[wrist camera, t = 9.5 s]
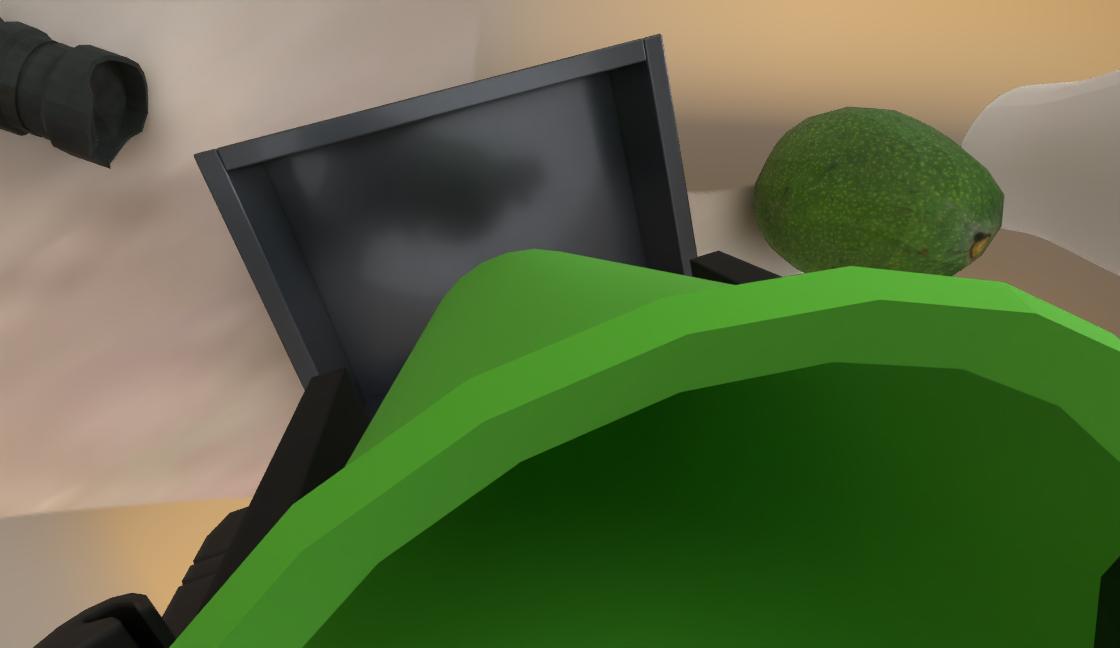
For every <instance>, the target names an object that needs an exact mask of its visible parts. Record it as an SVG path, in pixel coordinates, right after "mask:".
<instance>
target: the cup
mask: <svg viewBox="0 0 1120 648" xmlns="http://www.w3.org/2000/svg"><path fill="white" fill-rule="evenodd" d="M1119 556H1120V339H1119V338H1118V337H1117V336H1116V335H1114V334H1113V333H1111V332H1109V331H1107V330H1105V329H1103V328H1101V327H1098V326H1096V325H1094V324H1092V323H1090V322H1088V321H1086V320H1083V319H1081V318H1079V317H1077V316H1075V315H1073V314H1071V313H1068V312H1066V311H1064V310H1062V309H1060V308H1058V307H1056V306H1054V305H1051V304H1049V303H1047V302H1045V301H1043V300H1041V299H1038V298H1037V297H1034V296H1032V295H1030V294H1028V293H1026V292H1024V291H1022V290H1019V289H1017V288H1015V287H1013V286H1011V285H1008V284H1006V283H1005V282H998V281H989V280H979V279H969V278H960V277H951V276H941V275H932V274H923V273H913V272H904V271H894V270H885V269H875V268H866V267H856V266H847V267H841V268H835V269H829V270H823V271H817V272H811V273H805V274H799V275H793V276H787V277H781V278H775V279H769V280H763V281H757V282H751V283H745V284H739V285H731V284H726V283H721V282H716V281H711V280H706V279H700V278H695V277H690V276H685V275H680V274H674V273H669V272H664V271H659V270H654V269H648V268H643V267H638V266H633V265H628V264H622V263H617V262H612V261H607V260H602V259H596V258H591V257H586V256H581V255H576V254H570V253H565V252H560V251H550V250H540V249H530V250H523V251H516V252H509V253H505V254H503V255H500V256H498V257H495V258H493V259H490V260H488V261H485V262H483V263H481V264H480V265H478V266H477V267H475V268H474V269H473V270H471V271H470V272H468V273H467V274H466V275H464V276H463V277H461V278H460V279H459V280H458V281H457V282H456V284H455V285H454V286H453V287H452V288H451V289H450V291H449V292H448V293H447V294H446V295H445V296H444V298H443V299H442V300H441V302H440V304H439V305H438V307H437V309H436V311H435V312H434V314H433V316H432V318H431V319H430V321H429V323H428V324H427V326H426V328H425V330H424V331H423V333H422V335H421V336H420V338H419V340H418V342H417V343H416V345H415V347H414V349H413V350H412V352H411V354H410V355H409V357H408V359H407V361H406V362H405V364H404V366H403V367H402V369H401V371H400V373H399V374H398V376H397V378H396V380H395V381H394V383H393V385H392V386H391V388H390V390H389V392H388V393H387V395H386V397H385V398H384V400H383V402H382V404H381V405H380V407H379V409H378V411H377V412H376V414H375V416H374V417H373V419H372V421H371V423H370V424H369V426H368V428H367V429H366V431H365V433H364V435H363V436H362V438H361V440H360V442H359V443H358V445H357V447H356V448H355V450H354V452H353V454H352V455H351V457H350V459H349V460H348V462H347V464H346V466H345V467H344V468H343V469H342V470H341V471H339V472H338V473H336V474H335V475H334V476H332V477H331V478H329V479H328V480H327V481H325V482H324V483H322V484H321V485H319V486H318V487H317V488H315V489H314V490H312V491H311V492H310V493H308V494H307V495H305V496H304V497H303V498H301V499H300V500H298V501H297V502H296V503H294V504H293V505H292V506H291V507H290V508H289V509H288V511H287V512H286V513H285V514H284V515H283V516H282V518H281V519H280V520H279V521H278V522H277V523H276V524H275V526H274V527H273V528H272V529H271V530H270V531H269V533H268V534H267V535H266V536H265V537H264V538H263V540H262V541H261V542H260V543H259V544H258V545H257V547H256V548H255V549H254V550H253V551H252V552H251V553H250V555H249V556H248V557H247V558H246V559H245V560H244V562H243V563H242V564H241V565H240V566H239V567H238V569H237V570H236V571H235V572H234V573H233V574H232V575H231V577H230V578H229V579H228V580H227V581H226V582H225V584H224V585H223V586H222V587H221V588H220V589H219V591H218V592H217V593H216V594H215V595H214V596H213V598H212V599H211V600H210V601H209V602H208V603H207V604H206V606H205V607H204V608H203V609H202V610H201V611H200V613H199V614H198V615H197V616H196V617H195V618H194V620H193V621H192V622H191V623H190V624H189V625H188V627H187V628H186V629H185V630H184V631H183V632H182V633H181V635H180V636H179V637H178V638H177V639H176V640H175V642H174V643H173V644H172V645H171V646H170V647H169V648H1094V639H1095V629H1096V619H1097V610H1098V600H1099V590H1100V581H1101V576H1102V575H1103V574H1104V573H1105V572H1106V571H1107V570H1108V569H1109V567H1110V566H1111V565H1112V564H1113V563H1114V562H1115V561H1116V560H1117V559H1118V557H1119Z"/></svg>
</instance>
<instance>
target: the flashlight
mask: <svg viewBox="0 0 1120 648" xmlns="http://www.w3.org/2000/svg"><path fill="white" fill-rule="evenodd" d="M147 114H148V89H147V82H146V79H145V75H144V72H143V70H142V69H141V67H140V66H139V64H138V63H136V62H134V61H132V60H130V59H129V58H126V57H123V56H120V55H118V54H115V53H112V52H109V51H106V50H103V49H100V48H97V47H94V46H91V45H78V46H77V47H75V48H72V47H70V46H67V45H64V44H62V43H58V42H56V41H54V40H51V39H50V37H49V36H48V35H47V34H46V33H44V32H42V31H40V30H38V29H36V28H34V27H31V26H28V25H26V24H23V23H20V22H4V21H3V20H2V19H1V18H0V129H3V130H5V131H8V132H11V133H14V134H17V135H21V136H22V135H26V134H28V133H30V134H33V135H36V136H39V137H44V138H46V139H48V140H50V141H51V143H52V145H53V146H54V147H56V148H58V149H60V150H62V151H64V152H66V153H68V154H70V155H72V156H75V157H78V158H81V159H84V160H87V161H90V162H93V163H95V164H98V165H101V166H104V167H107V168H110V163H111V162H112V160H113V159H114V157H115V156H116V155H117V153H118V152H119V151H120V149H121V148H122V147H123V145H124V144H125V143H126V142H127V141H128V140H129V139H130V138H131V137H133V136H135V135H137V134H138V133H140V132H142V130H143V127H144V124H145V121H146V117H147ZM110 169H111V168H110Z"/></svg>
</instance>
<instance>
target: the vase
mask: <svg viewBox="0 0 1120 648" xmlns="http://www.w3.org/2000/svg"><path fill="white" fill-rule="evenodd" d="M961 148H962V149H964V150H965V151H966V152H967V153H969V154H970V155H971V156H972V157H973V158H974V159H976V160H977V161H978V162H979V163H980V164H982V165H983V166H984V167H985V168H986V169H988V171H989V172H990V174H991V175H992V177H993V178H994V180H995V181H996V183H997V184H998V186H999V187H1000V189H1001V190H1002V192H1003V193H1004V206H1003V217H1002V226H1001V228H1000V229H1007V230H1012V231H1018V232H1025V233H1028V234H1031V235H1034V236H1037V237H1041V238H1043V239H1046V240H1049V241H1051V242H1053V243H1055V244H1057V245H1059V246H1061V247H1063V248H1065V249H1067V250H1069V251H1071V252H1073V253H1075V254H1077V255H1079V256H1081V257H1083V258H1085V259H1087V260H1089V261H1091V262H1093V263H1095V264H1097V265H1098V266H1101V267H1102V268H1104V269H1107V270H1108V271H1110V272H1112V273H1115V274H1116V275H1119V276H1120V69H1119V70H1116V71H1113V72H1110V73H1107V74H1105V75H1101V76H1098V77H1095V78H1091V79H1087V80H1082V81H1078V82H1068V83H1054V84H1041V85H1030V86H1024V87H1017V88H1014V89H1012V90H1010V91H1008V92H1006V93H1004V94H1001V95H1000V96H998V97H997V98H996V99H995V100H993V101H992V102H991V103H990V104H989V105H987V106H986V107H985V108H984V109H983V111H982V112H981V113H980V114H979V115H978V117H977V118H976V119H975V120H974V121H973V123H972V125H971V126H970V128H969V130H968V132H967V134H966V135H965V137H964V139H963V141H962V144H961Z"/></svg>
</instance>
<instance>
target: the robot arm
mask: <svg viewBox="0 0 1120 648" xmlns="http://www.w3.org/2000/svg"><path fill="white" fill-rule="evenodd" d="M690 265H691V271H692V277H695V278H700V279H706V280H711V281H716V282H721V283H726V284H731V285H739V284H745V283H751V282H757V281H763V280H769V279H775V278H781V276H779V275H776V274H774V273H771V272H769V271H767V270H764V269H762V268H759V267H757V266H754V265H752V264H750V263H747V262H745V261H742V260H740V259H737V258H735V257H733V256H730V255H728V254H725V253H723V252H720V251H716V252H713V253H710V254H706V255H703V256H700V257H697V258H694V259H690ZM369 424H370V422H369V419H368V417H367V415H366V412H365V410H364V408H363V406H362V403H361V401H360V399H359V396H358V394H357V392H356V389H355V387H354V385H353V383H352V380H351V378H350V376H349V373H348V371H347V369H346V367H343V368H340V369H337V370H334V371H330V372H327V373H324V374H321V375H317V376H314V377H312V378H311V380H310V382H309V384H308V386H307V388H306V390H305V392H304V394H303V396H302V398H301V400H300V402H299V404H298V406H297V408H296V410H295V412H294V415H293V417H292V419H291V421H290V423H289V425H288V427H287V429H286V431H285V433H284V435H283V437H282V439H281V441H280V443H279V445H278V447H277V449H276V451H275V453H274V456H273V458H272V460H271V462H270V464H269V466H268V468H267V470H266V472H265V474H264V476H263V478H262V480H261V482H260V484H259V486H258V488H257V490H256V492H255V495H254V497H253V499H252V501H251V503H250V505H249V507H246V508H243V509H240V510H237V511H234V512H231V513H229V514H228V515H227V516H226V517H225V518H224V520H223V521H222V522H221V523H220V524H219V525H218V526H217V527H216V528H215V529H214V530H213V531H212V532H211V533H210V534H209V535H208V536H207V537H206V539H205V541H204V542H203V544H202V546H201V548H200V550H199V551H198V553H197V555H196V557H195V559H194V560H193V562H194V565H192V566H190V568H189V570H188V571H187V573H186V575H185V577H184V578H183V580H182V583H183V585H182V586H180V587H178V589H177V591H176V593H175V595H174V596H173V598H172V600H171V602H170V604H169V605H168V608H167V609H166V611H165V613H164V614H163V616H162V617H161V616H160V614H159V613H158V611H157V610H156V609H155V607H154V606H153V604H152V603H151V602H150V600H149V599H148V597H147V596H146V595H142V594H136V593H129V594H125V595H121V596H117V597H113V598H110V599H108V600H105V601H103V602H101V603H99V604H97V605H95V606H92V607H90V608H88V609H86V610H84V611H83V612H81V613H79V614H78V615H76V616H75V617H73V618H72V619H70V620H68V621H67V622H65V623H64V624H62V625H61V626H59V627H58V628H56V629H55V630H54V631H53V632H52V633H50V634H49V635H48V636H47V637H46V638H44V639H43V640H42V641H41V642H39V643H38V644H37V645H36V646H34V647H33V648H169V647H170V646H171V645H172V644H173V643H174V642H175V640H176V639H177V638H178V637H179V636H180V635H181V633H182V632H183V631H184V630H185V629H186V628H187V627H188V625H189V624H190V623H191V622H192V621H193V620H194V618H195V617H196V616H197V615H198V614H199V613H200V611H201V610H202V609H203V608H204V607H205V606H206V604H207V603H208V602H209V601H210V600H211V599H212V598H213V596H214V595H215V594H216V593H217V592H218V591H219V589H220V588H221V587H222V586H223V585H224V584H225V582H226V581H227V580H228V579H229V578H230V577H231V575H232V574H233V573H234V572H235V571H236V570H237V569H238V567H239V566H240V565H241V564H242V563H243V562H244V560H245V559H246V558H247V557H248V556H249V555H250V553H251V552H252V551H253V550H254V549H255V548H256V547H257V545H258V544H259V543H260V542H261V541H262V540H263V538H264V537H265V536H266V535H267V534H268V533H269V531H270V530H271V529H272V528H273V527H274V526H275V524H276V523H277V522H278V521H279V520H280V519H281V518H282V516H283V515H284V514H285V513H286V512H287V511H288V509H289V508H290V507H291V506H292V505H293V504H294V503H296V502H297V501H298V500H300V499H301V498H303V497H304V496H305V495H307V494H308V493H310V492H311V491H312V490H314V489H315V488H317V487H318V486H319V485H321V484H322V483H324V482H325V481H327V480H328V479H329V478H331V477H332V476H334V475H335V474H336V473H338V472H339V471H341V470H342V469H343V468H344V467H345V466H346V464H347V462H348V460H349V459H350V457H351V455H352V454H353V452H354V450H355V448H356V447H357V445H358V443H359V442H360V440H361V438H362V436H363V435H364V433H365V431H366V429H367V428H368V426H369ZM1094 648H1120V556H1119V557H1118V559H1117V560H1116V561H1115V562H1114V563H1113V564H1112V565H1111V566H1110V567H1109V569H1108V570H1107V571H1106V572H1105V573H1104V574H1103V575H1102V576H1101V581H1100V590H1099V600H1098V610H1097V619H1096V629H1095V639H1094Z"/></svg>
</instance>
